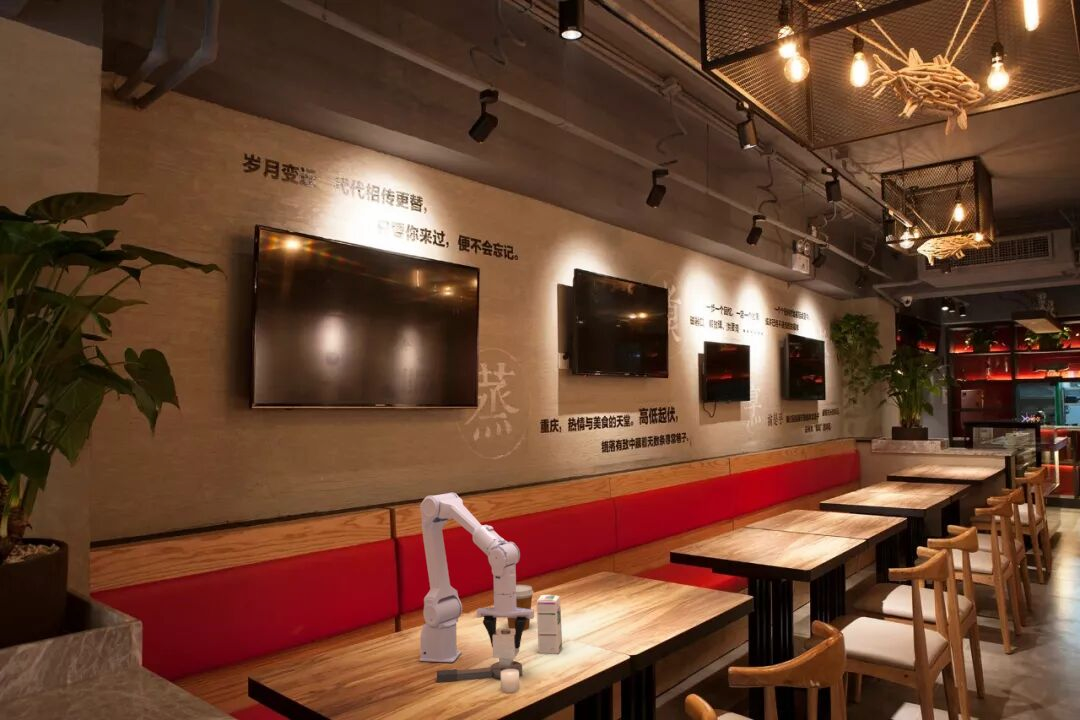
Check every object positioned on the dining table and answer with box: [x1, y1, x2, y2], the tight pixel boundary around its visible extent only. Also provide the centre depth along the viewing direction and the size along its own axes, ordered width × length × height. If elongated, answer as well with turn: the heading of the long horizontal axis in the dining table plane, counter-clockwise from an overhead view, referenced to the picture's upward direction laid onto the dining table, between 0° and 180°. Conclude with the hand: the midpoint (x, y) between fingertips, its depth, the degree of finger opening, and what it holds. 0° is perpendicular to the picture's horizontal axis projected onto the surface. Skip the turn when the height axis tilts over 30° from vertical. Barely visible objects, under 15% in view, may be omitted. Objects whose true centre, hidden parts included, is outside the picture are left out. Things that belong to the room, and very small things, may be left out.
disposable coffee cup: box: [507, 584, 534, 631], centre depth 216 cm, size 10×10×12 cm
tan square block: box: [492, 627, 520, 660], centre depth 178 cm, size 6×6×6 cm
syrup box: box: [536, 594, 563, 655], centre depth 195 cm, size 6×6×14 cm
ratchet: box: [436, 658, 523, 683], centre depth 177 cm, size 21×11×4 cm, turn 80°
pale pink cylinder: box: [500, 669, 520, 694], centre depth 168 cm, size 4×4×4 cm
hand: (506, 646), depth 178 cm, fingers closed on tan square block, 6 cm apart
